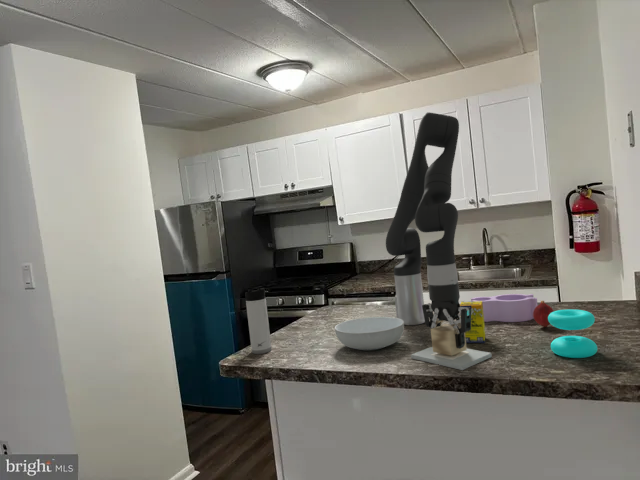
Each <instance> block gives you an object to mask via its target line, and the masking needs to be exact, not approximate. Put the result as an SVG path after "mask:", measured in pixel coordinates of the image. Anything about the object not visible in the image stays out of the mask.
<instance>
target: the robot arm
mask: <svg viewBox="0 0 640 480" xmlns="http://www.w3.org/2000/svg"><path fill="white" fill-rule="evenodd" d="M459 123H460V122H459V119H458V118H457V117H454V116H451V115H446V114H441V113H436V112H425V113H424V114H423V116H422V117H421V119H420V122H419V126H418V130H417V134H416V138H415V143H414V147H413V148H414V149H413V151H412V157H411V160H410V164H409V168H408V170H407V173H406V177H405V179H404V183H403V185H402V189H401V194H400V197H399V201H398V204H397V208H396V211H395V214H394V216H393V219H392V221H391V223H390V226H389V228H388V231H387V234H386V238H385V249H386V251H387V253H388V254H389V255H391V256H395V257H397V256H399V257H400V256H404V259H403V260H402V261H401V262H400V263H398V264H397V265H395V266H394V268H393V277H394V284H395V296H394V305H395V314H396V318H399V319H402V320H403V321H404V326H415V325H421V324H424V323H425V326H426V327H427V328H430V330H431V329H432V328H435V327H438V326H441V325H443V322H444V321H445V322H448V323H449V325H451V326H452V327H453V328H454V330H455V332H456V334H455V339H456V347H457V348H459V349H460V348H463V347H464V345H465V337H464V333H465V332H467V331H470V330H471V308H470V307H467V308H464V307H461V306H460V304H461V303H460V301H459V300H460V297H461V296H460V287H459V276H458V269H457V264H456V257H455V255H456V254H455V238H456V237H455V236H456V229H457V227H458V226H457V225H458V219H459V211H458V209H457V208H456V206H455V205H454V204H453V203H450V202H449V201H450V199H451V196H452V173H453V167H454V163H455V157H456V151H457V147H458V146H457V145H458V139H459V133H460V124H459ZM427 146H430V147H435V148H440V149H441V148H442V149H443V148H444V149H443V151H442V153H441V154H440V155H439V156H438V157H437V158H436V159H435V160H434V161H433V162H432V163H431V164H430V165H429V164H428V161H427V156H426V147H427ZM413 221H415V226H416V227H417V229H416V228H414V227H409V226H410V224H412V222H413ZM417 230H419V231H420V232H421V233H435V232H444V233H443V236H442V237H441V238H440V239H436V240H433V241H429V242H428V243H427V244H425V254H426V255H425V256H426V265H427V266H426V267H427V269H426V270H427V271H426V274H427V275H426V276H427V285H428V286H427V287H428V296H429V297H428V298H429V300H430V301H431V303H430V302H428V303H425V301H424V300H425V299H424V292H423V291H424V289H423V281H422V271H421V268H422V252H421V248H422V247H421V238H420V237H421V236H420V235H419V232H418V231H417Z"/></svg>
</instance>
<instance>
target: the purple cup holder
mask: <svg viewBox="0 0 640 480" xmlns="http://www.w3.org/2000/svg"><path fill="white" fill-rule="evenodd" d="M471 301H482V303H483V313H484V323H485V322H486V323H487V322H505V323H519V322H528V321H531V320H535V319H534V317H533V311H534V309H535V308H536V307H537V306H538V305H539V304H538V297H534V294H533V293H530V294H524V293H508V294H507V293H505V294H498V295H493V296H476V297H471V298H470V302H471Z"/></svg>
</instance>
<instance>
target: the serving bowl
mask: <svg viewBox="0 0 640 480" xmlns="http://www.w3.org/2000/svg"><path fill="white" fill-rule="evenodd" d="M404 328H405V325H404V321H403V320H402V319H399V318H397V317H393V316H369V317H368V316H367V317H360V318H355V319H349V320H348V319H347V320H346V321H341V322H340V323H338V324H336V325H335V326H334V332H335V333H334V334H335V335H336V338H337V340H338V341H339V342H340V343H341V344H342V345H344V346H346V347H347V348H350V349H354V350H360V351H375V350H376V351H377V350H380V349H381V350H382V349H384V348H385V347H389V346H392V345H393V344H395V343H396V342H398V340H400V339H401V338H402V335H403V334H404Z"/></svg>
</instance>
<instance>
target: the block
mask: <svg viewBox="0 0 640 480" xmlns="http://www.w3.org/2000/svg"><path fill="white" fill-rule="evenodd" d="M455 334H456V332H455V330H454V328H453V327H452V326H451V325H450V323H449V324H448V323H445V324H441V326H438V327H435V328H432V329H431V328H430V337H431V347H433V352H436V353H441V354H446V355H451V356H452V355H455V354H457V353H460V352H462V351H465V350H467V349H468V347H467V343H466V338H465V345H464V347H463V348H460V349H459V348H457V347H456V339H455ZM464 337H465V333H464Z"/></svg>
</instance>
